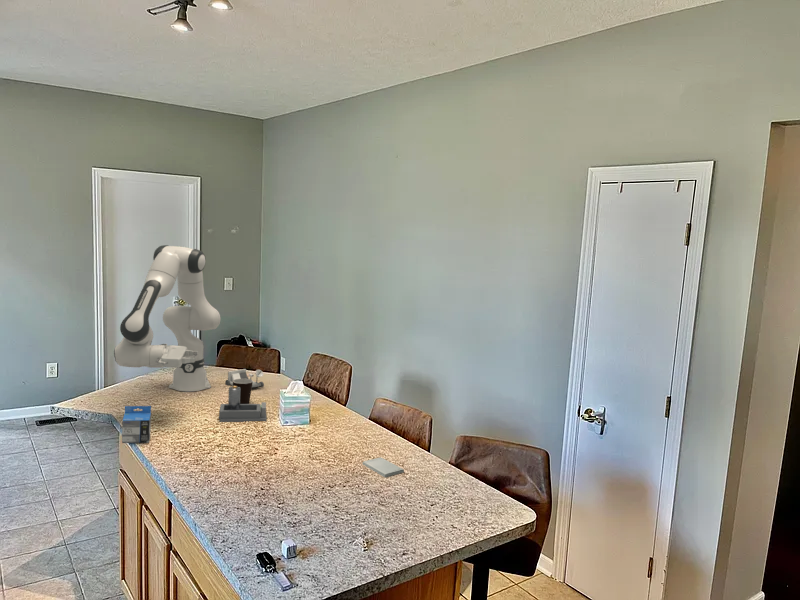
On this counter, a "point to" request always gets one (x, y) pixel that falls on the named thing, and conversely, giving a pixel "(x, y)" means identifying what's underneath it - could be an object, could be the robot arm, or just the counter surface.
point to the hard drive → (383, 467)
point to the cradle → (243, 413)
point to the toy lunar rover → (243, 377)
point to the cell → (234, 398)
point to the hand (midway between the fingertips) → (196, 356)
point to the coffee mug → (244, 389)
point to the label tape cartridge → (136, 424)
